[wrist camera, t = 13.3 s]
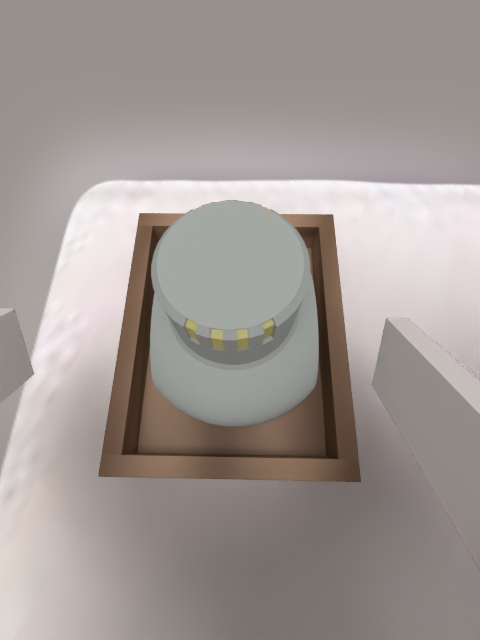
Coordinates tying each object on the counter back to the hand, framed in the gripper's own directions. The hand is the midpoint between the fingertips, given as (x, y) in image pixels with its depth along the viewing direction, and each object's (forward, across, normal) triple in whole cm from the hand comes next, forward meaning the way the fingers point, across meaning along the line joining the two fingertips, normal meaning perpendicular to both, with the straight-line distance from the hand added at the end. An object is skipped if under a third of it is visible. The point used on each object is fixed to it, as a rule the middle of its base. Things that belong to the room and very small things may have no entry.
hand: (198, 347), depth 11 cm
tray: (+9, +1, -5) cm, 10 cm away
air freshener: (+8, +1, -4) cm, 10 cm away
